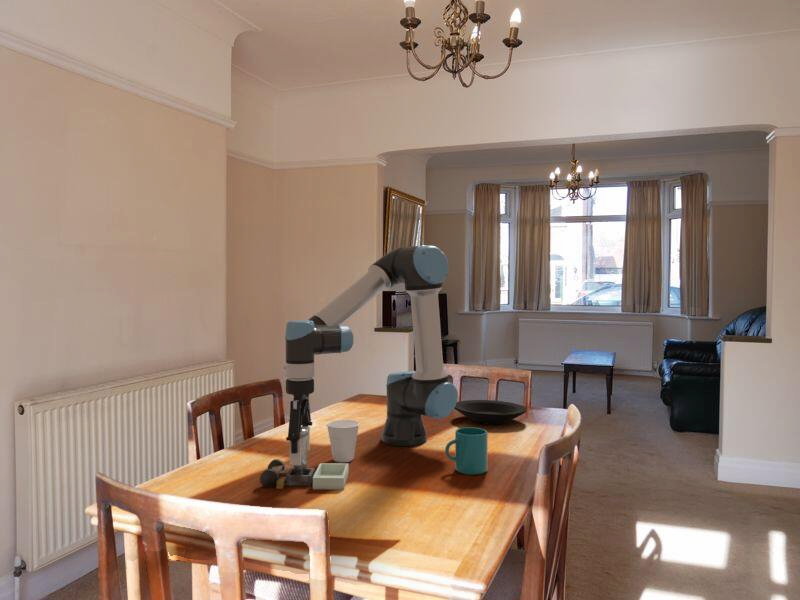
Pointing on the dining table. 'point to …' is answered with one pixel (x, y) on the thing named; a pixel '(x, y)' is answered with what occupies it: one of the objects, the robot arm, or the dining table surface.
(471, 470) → the cup
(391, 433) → the robot arm
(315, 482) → the tray
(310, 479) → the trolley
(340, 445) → the cup
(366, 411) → the dining table surface
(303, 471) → the pin
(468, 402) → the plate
